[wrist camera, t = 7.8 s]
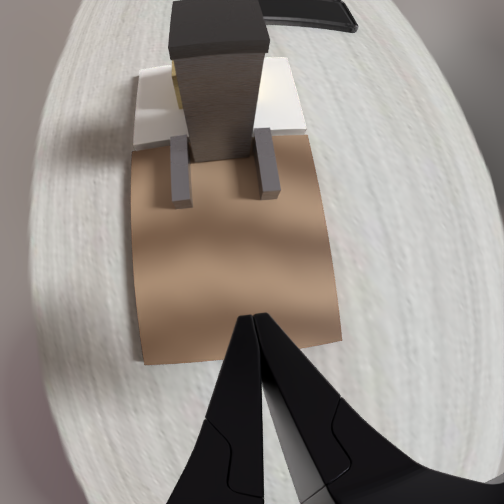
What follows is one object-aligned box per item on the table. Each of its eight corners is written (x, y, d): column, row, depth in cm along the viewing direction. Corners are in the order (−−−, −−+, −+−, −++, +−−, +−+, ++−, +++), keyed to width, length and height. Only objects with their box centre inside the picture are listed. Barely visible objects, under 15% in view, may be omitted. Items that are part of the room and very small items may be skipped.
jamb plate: (304, 134, 23) (306, 128, 22) (136, 151, 22) (132, 145, 21) (285, 63, 25) (287, 57, 24) (142, 76, 23) (140, 70, 22)
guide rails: (276, 199, 21) (281, 190, 19) (176, 209, 21) (171, 201, 19) (267, 139, 22) (270, 127, 20) (174, 148, 21) (170, 136, 20)
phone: (360, 30, 26) (235, 20, 25) (357, 36, 27) (234, 27, 26) (342, -1, 27) (231, -10, 26) (340, 4, 28) (230, -4, 27)
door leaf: (337, 338, 21) (342, 340, 20) (148, 362, 20) (144, 365, 19) (304, 140, 23) (307, 134, 22) (135, 157, 22) (131, 151, 21)
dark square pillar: (250, 158, 21) (270, 40, 10) (193, 163, 21) (168, 47, 10) (236, 64, 23) (244, -41, 11) (190, 68, 22) (178, -37, 11)
